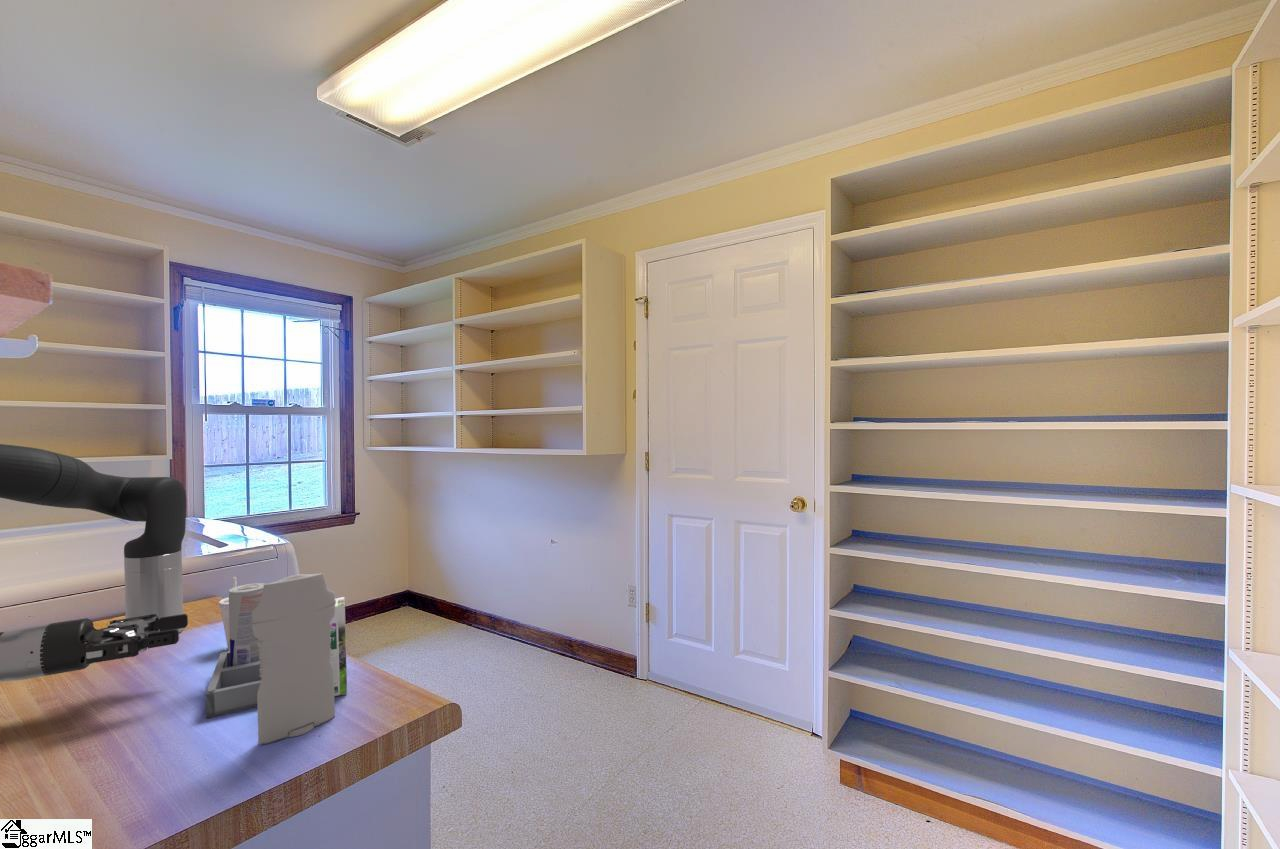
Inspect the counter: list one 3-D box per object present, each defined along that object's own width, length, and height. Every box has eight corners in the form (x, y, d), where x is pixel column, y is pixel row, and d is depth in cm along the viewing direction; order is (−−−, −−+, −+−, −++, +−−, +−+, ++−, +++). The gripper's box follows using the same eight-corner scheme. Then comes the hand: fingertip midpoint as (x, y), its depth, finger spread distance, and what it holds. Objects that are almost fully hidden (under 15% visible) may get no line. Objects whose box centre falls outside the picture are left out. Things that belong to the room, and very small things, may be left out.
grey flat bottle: (332, 710, 86) (328, 565, 86) (343, 718, 84) (340, 569, 84) (250, 740, 78) (246, 580, 78) (259, 751, 76) (256, 586, 76)
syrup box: (305, 703, 89) (303, 610, 89) (308, 688, 94) (305, 600, 94) (347, 695, 91) (345, 604, 91) (346, 680, 96) (344, 594, 96)
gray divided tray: (221, 672, 101) (220, 652, 101) (284, 660, 105) (284, 640, 105) (206, 718, 85) (205, 694, 85) (281, 701, 90) (281, 678, 90)
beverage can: (277, 666, 101) (275, 582, 101) (253, 680, 96) (250, 591, 96) (248, 665, 102) (246, 581, 102) (222, 679, 96) (220, 591, 96)
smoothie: (216, 648, 112) (214, 577, 112) (254, 639, 117) (252, 570, 116) (223, 657, 107) (222, 583, 107) (263, 647, 112) (261, 576, 112)
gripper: (26, 639, 80) (175, 617, 88) (62, 611, 92) (189, 594, 100) (28, 693, 80) (176, 665, 88) (63, 658, 92) (190, 636, 100)
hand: (183, 627), depth 94 cm, fingers open, 8 cm apart
